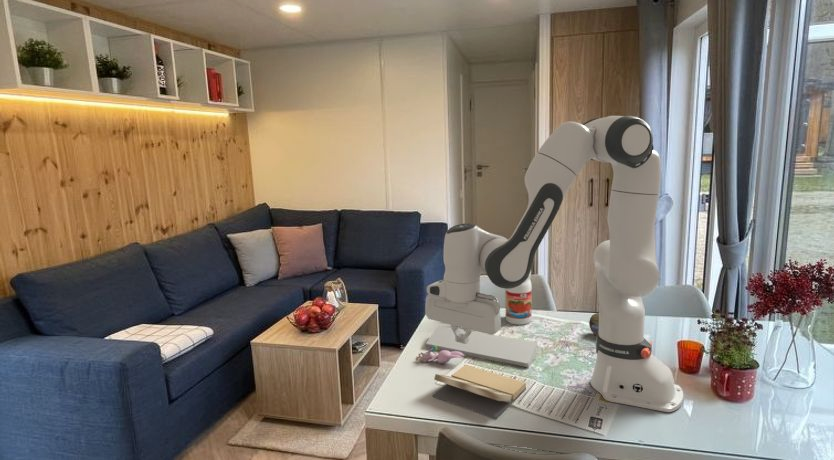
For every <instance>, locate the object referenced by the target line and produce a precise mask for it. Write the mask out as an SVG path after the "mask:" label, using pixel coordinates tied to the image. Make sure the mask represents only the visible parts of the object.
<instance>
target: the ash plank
mask: <svg viewBox="0 0 834 460" xmlns="http://www.w3.org/2000/svg"><path fill="white" fill-rule="evenodd" d="M433 378H434V381H437V382H440V383H443V384H445V385H446V384H449V385H452V386H455V387H458V388H461V389H464V390H467V391H470V392H473V393H476V394H479V395H482V396H485V397H488V398H491V399H494V400H497V401H508V402H511V397H512V396H511V395H508V394H505V393H502V392H498V391H495V390H492V389H489V388H486V387H483V386H479V385H476V384H473V383H470V382H467V381H464V380H460V379H457V378H454V377H452V375H445V374H435V376H434V377H433Z"/></svg>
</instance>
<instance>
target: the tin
mask: <svg viewBox="0 0 834 460" xmlns="http://www.w3.org/2000/svg"><path fill="white" fill-rule="evenodd" d="M588 323H589V324H588V325H589V328H590V331H591V333H593V335H595V336H596V337H597V334H598V333H599V312H597V313H594V314H592V315H591V316H590V318H589V321H588Z"/></svg>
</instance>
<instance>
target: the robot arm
mask: <svg viewBox="0 0 834 460" xmlns="http://www.w3.org/2000/svg"><path fill="white" fill-rule="evenodd" d="M653 135H654V134H653V131H652V129H651V127H650V125H649V124H648V123H647V121H645V120H643V119H642V118H639V117H637V116H632V115H625V116H624V115H623V116H622V115H607V116H605V117H597V118H596V117H595V118H592V119H590V120H587V121H585V122H584V123H580V122H577V121H571V120H570V121H565V122H563V123H561V124H559V125H558V127H557V128H556V129H554V131H552V133H551V134H550V135H549V136H548V138H547V139H546V140H545V141H544V142H543V144H542V145H540V148H539V149H538V151H537V152H536V154H535V155H534V157H533V158H532V160H531V161H530V163H529V166H528V167H527V170H526V172H525V175H524V185H525V188H526V191H527V196H528V203H527V206H526V207H527V208H526V209H525V212H524V214H523V216H522V217H521V219H520V221H519V223H518V224H517V226H516V227H515V229H514V231H513V233H512V234H511V236H510V237H509V238H506V237H504V236H503V235H499V234H496V233H495V234H494V233H491V232H489V231H486V230H484V229H482V228H481V227H479V226H478V225H476V224H475V223H471V222H469V223H467V222H466V223H459V224H456V225H455V224H454V225H453V226H451V227H450V228H449V229H448V230H447V231H446V232H445V235H444V240H443V241H444V242H443V264H444V268H445V269H444V274H443V279H441V280H438V281H435V282H433V283H431V284H429V285H427V286H426V293H427V295H426V298H425V306H424V307H425V309H424V311H425V312H424V313H425V316H426V317H427V319H428V320H432V321H435V322H440V323H444V324H448V325H450V328H451V329H452V331H453V333H454V334H455V341H456V342H460V343H463V344H467V343H468V342H469V335H470V334H471V332H472V331H474V332H479V333H485V334H490V335H496V333H498V332H499V331H500V330H501V328H502V323H501V322H502V321H501V319H502V318H501V313H500V312H501V311H500V310H501V302H500V301H499V300H498V298H496V297H495V296H494V295H492V294H486V293H482V292H480V291H481V289H480V288H481V287H480V286H481V282H480V281H481V275H487V277H488V278H489V281H491V283H492V284H493V285H495V286H496V287H498V288H501V289H504V290H505V289H510V288H515V287H517V286H519V285H521V284H522V283H523V282H525V280H526V279H527V278H528V276H529V274H530V272H531V273H532V268H533V264H534V263H533V262H534V258H535V255H536V252H537V251H538V249H539V246H540V245H541V243H542V241H543V239H544V238H545V235H546V234H547V232H548V230H549V228H550V227H551V225H552V223H553V221H554V219H555V218H556V216H557V214H558V212H559V210H560V208H561V205H562V203H563V201H564V198H565V196H566V195H567V193H568V191H569V189H570V188H571V186H572V185H573V183H574V182H575V180H576V179H577V177H578V176H579V174H580V172H581V171H582V169H583V167H584V166H585V165H586V164H587V163H588V162H589V161H597V162H600V163H606V164H610V165H611V167H612V171H613V178H612V183H611V188H610V189H611V190H610V196H609V203H608V210H607V225H608V234H609V239H608V240H604V241H602V242H600V243H599V244H598V245H597V246H596V248H595V249H594V251H593V262H594V263H593V264H594V269H595V280H596V290H597V298H598V309H599V310H598V313H599V333H598V334H597V336H596V338H595V349H596V350H595V352H596V353H595V354H596V358H595V365H594V368H593V371H592V375H591V378H590V384H591V387H592V388H593V389H594V390H596V391H597V392H598V393H600V394H601V395H602V398H603V399H604V400H605V401H607V402H611V403H617V404H622V405H628V406H633V407H639V408H643V409H648V410H654V411H658V412H665V413H671V412H675V411H677V410H678V409H680V407H681V406H682V404H683V402H684V399H685V397H684V391H683V388H682V387H681V386H680V385H679V384H675V379H674V376H673V372H672V370H671V368H669V367H668V365H666V364H664V363H663V362H662V361H661V360H660V359H659V358H658V357H656V356H655V355H654V354H653V353H652V352H653V350H652V348H653V340H650V341H648V340H647V339H645V337H644V335H645V317H646V314H645V313H646V310H645V306H644V302H643V299H642V297H645V296H648V295H650V294H651V293H653V292H654V290H656V289H657V287H658V285H659V283H660V280H661V279H660V278H661V275H660V274H661V273H660V269H659V267H658V263H657V254H656V253H657V252H656V251H657V250H656V233H655V232H656V231H655V230H656V229H655V226H656V217H657V210H658V204H659V197H660V192H661V191H660V190H661V183H662V181H661V180H662V179H661V178H662V165H661V157H660V154H659V153H658V152H657V151H656V150H654V137H653ZM461 328H462V329H463V330H464V332H466V333H465V334H461V332H460V329H461Z"/></svg>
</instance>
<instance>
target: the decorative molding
mask: <svg viewBox="0 0 834 460" xmlns="http://www.w3.org/2000/svg"><path fill="white" fill-rule="evenodd" d="M459 329H460V332H461V334H465V333H466V332H464V329H463V328H462V329H461V328H459ZM425 345H426V348H427V349H429V348H430V349H432V348H434V347H433V346H432V345H436V346H437V350H438V351H442V350H447V351H450V352H452V351H459V352H461V353H462V354H464V355H465V356H469V357H474V358H479V359H484V360H488V361H489V360H490V361H494V362H499V363H504V364H509V365H514V366H519V367H525V368H530V366H531V365H532V364H533V362H534V360H535V359H536V358H537V356H538V355H539V351H538V350H539V349H538V342H536V341H530V340H525V339H519V338H512V337H507V336H501V335H496V334H493V335H490V334H486V333H482V332H479V331H474V330H472V332H471V334H470V335H469V342H468V343H467V344H463V343H460V342H456V341H455V334H454V333H453V331H452V329H451V326H450V327H449V326H444V325H437V327H436V329H435V330H434V331H433V333H432V334H431V335H430V337H429V338H428V339H427V342H425Z"/></svg>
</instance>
